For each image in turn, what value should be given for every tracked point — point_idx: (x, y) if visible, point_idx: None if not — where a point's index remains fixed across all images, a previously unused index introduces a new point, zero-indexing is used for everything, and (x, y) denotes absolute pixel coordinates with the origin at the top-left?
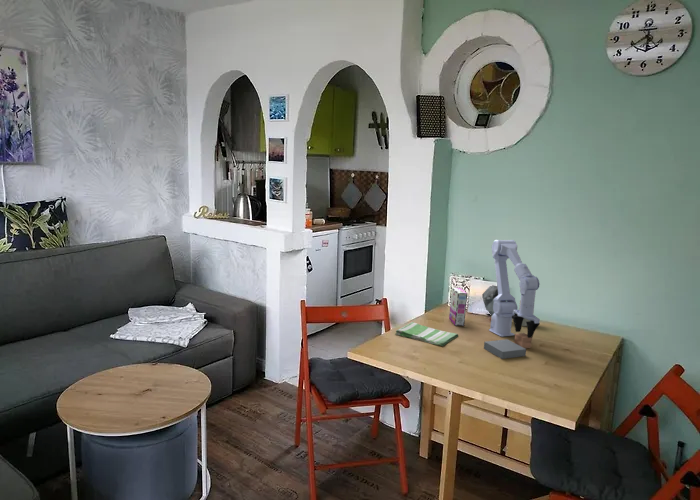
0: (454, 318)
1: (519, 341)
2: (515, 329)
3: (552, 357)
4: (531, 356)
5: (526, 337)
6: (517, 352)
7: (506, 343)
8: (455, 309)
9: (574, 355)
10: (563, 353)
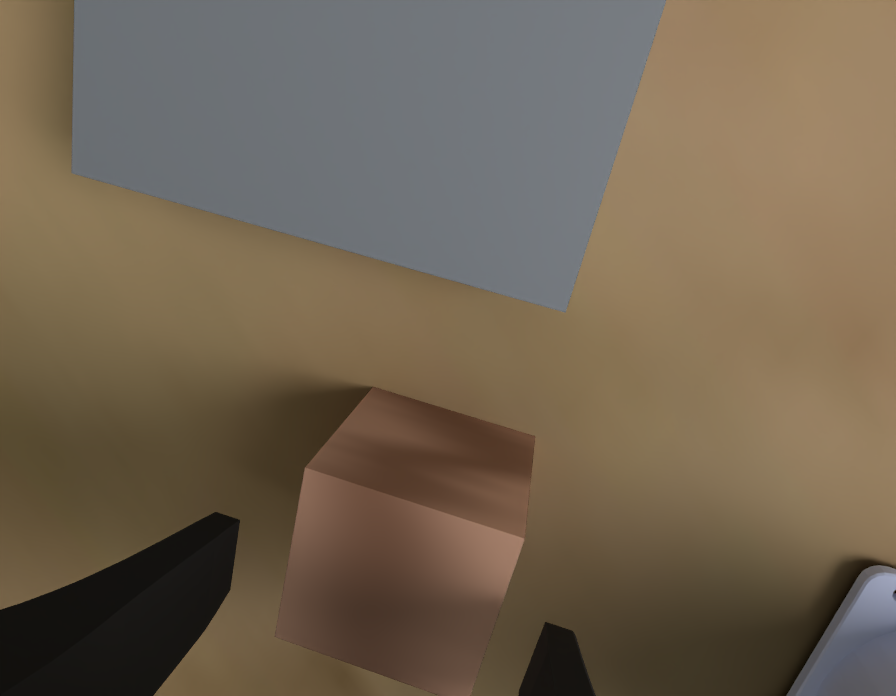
0: None
1: (409, 444)
2: (575, 657)
3: (25, 437)
4: (119, 238)
5: (294, 537)
6: None
7: (414, 75)
8: None
9: None
10: None
